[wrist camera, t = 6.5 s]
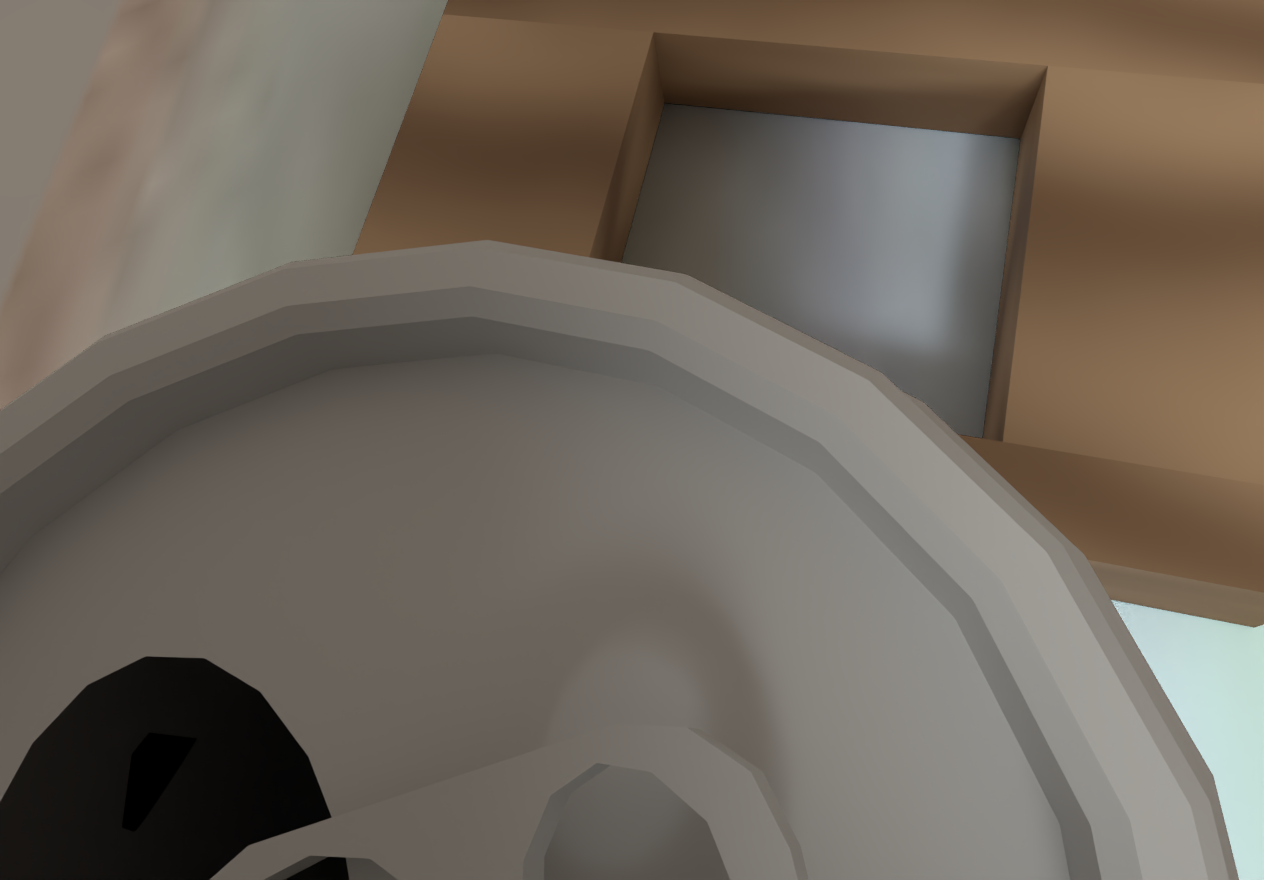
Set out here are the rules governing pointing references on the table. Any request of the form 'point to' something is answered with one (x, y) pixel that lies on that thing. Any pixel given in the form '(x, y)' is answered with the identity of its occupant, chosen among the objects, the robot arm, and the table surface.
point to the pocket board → (1038, 233)
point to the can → (550, 603)
